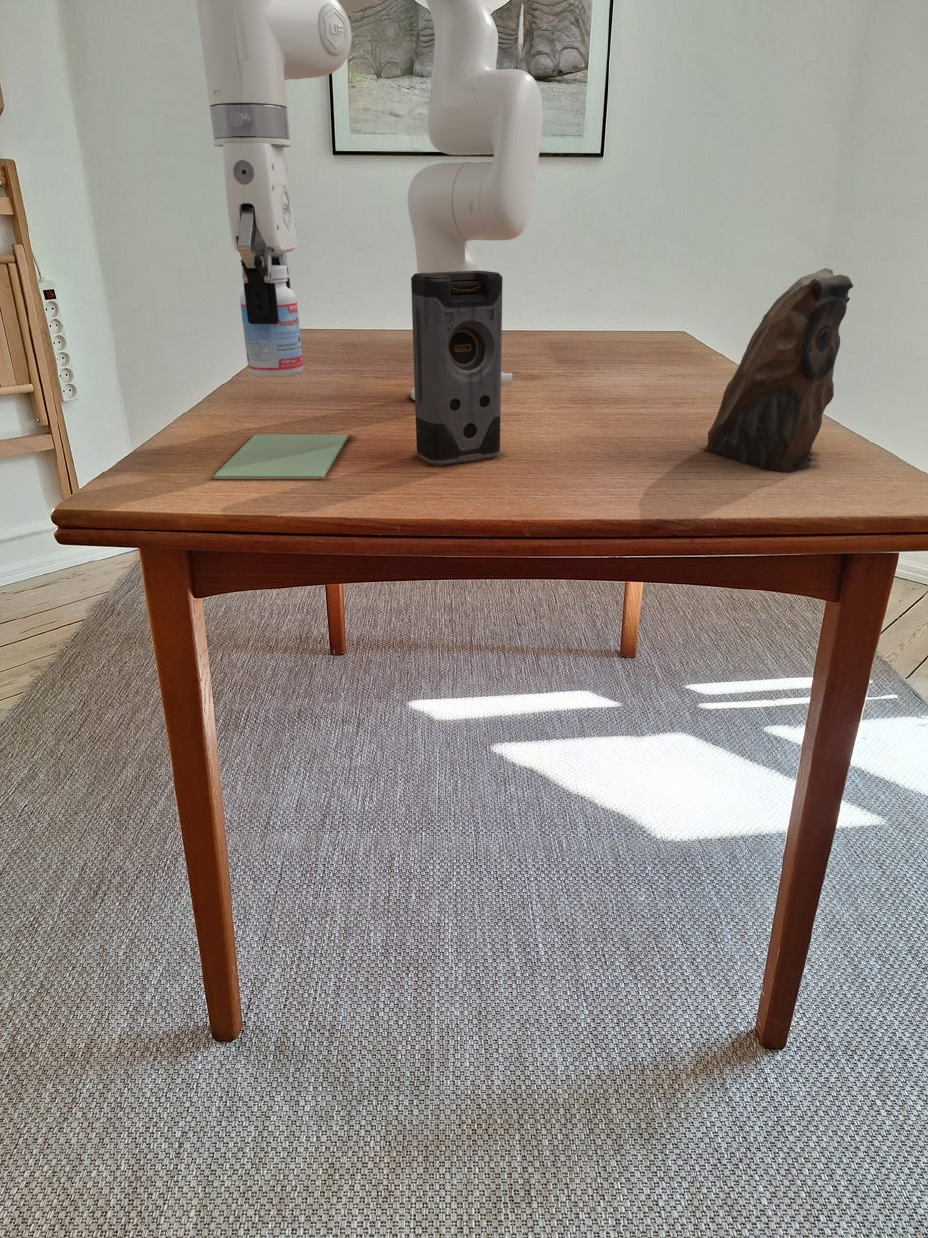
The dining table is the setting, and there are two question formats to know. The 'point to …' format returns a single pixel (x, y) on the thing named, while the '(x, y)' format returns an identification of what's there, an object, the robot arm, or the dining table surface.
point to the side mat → (284, 457)
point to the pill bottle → (275, 334)
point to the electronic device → (457, 365)
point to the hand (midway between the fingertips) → (271, 317)
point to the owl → (784, 378)
